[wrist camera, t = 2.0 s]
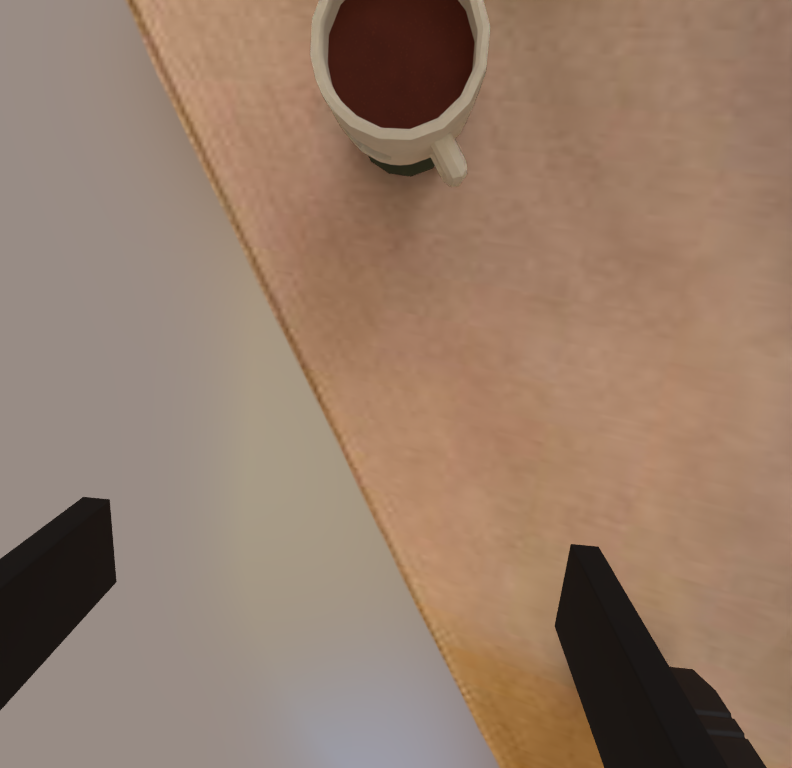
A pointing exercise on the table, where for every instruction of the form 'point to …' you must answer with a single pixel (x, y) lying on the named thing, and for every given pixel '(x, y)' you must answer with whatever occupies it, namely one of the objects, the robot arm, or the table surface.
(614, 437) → the table surface
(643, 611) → the table surface
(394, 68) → the character mug
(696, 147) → the table surface
